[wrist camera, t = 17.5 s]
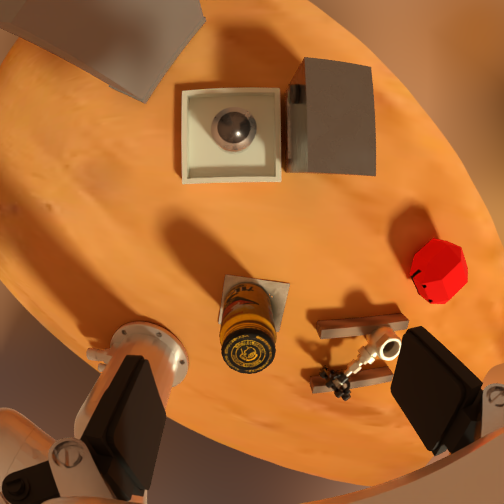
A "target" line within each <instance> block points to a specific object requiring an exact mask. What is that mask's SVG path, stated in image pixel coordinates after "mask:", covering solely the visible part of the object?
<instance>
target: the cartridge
mask: <svg viewBox="0 0 504 504" xmlns="http://www.w3.org/2000/svg"><path fill="white" fill-rule="evenodd" d="M256 132H257V125H256V121H255V119H254V117H253V116H252V114H251V113H249V112H248V111H247V110H245V109H243V108H239V107H229V108H226V109H223V110H222V111H220V112H219V113H218V114H217V115H216V116H215V117H214V119H213V121H212V125H211V133H212V136H213V138H214V140H215V142H216V144H217V146H218V147H219V148H220V149H221V150H222V151H224V152H226V153H229V154H239V153H242V152H244V151H245V150H247V149H248V148H249V146H250V145H251V143H252V141H253V139H254V138H255V135H256Z"/></svg>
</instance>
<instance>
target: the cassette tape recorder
mask: <svg viewBox="0 0 504 504" xmlns="http://www.w3.org/2000/svg"><path fill="white" fill-rule="evenodd" d="M205 22H206V18H205V17H203V13H202V9H201V6H200V2H199V0H0V28H1V29H3V30H6V31H8V32H10V33H12V34H14V35H17V36H19V37H21V38H23V39H25V40H27V41H29V42H31V43H33V44H35V45H37V46H39V47H41V48H43V49H45V50H47V51H49V52H51V53H53V54H55V55H57V56H59V57H61V58H63V59H65V60H66V61H68V62H70V63H72V64H74V65H76V66H77V67H79V68H81V69H83V70H85V71H86V72H88V73H90V74H92V75H93V76H95V77H97V78H99V79H100V80H102V81H104V82H105V83H107V84H109V87H111V88H112V89H115V90H117V91H119V92H121V93H124V94H126V95H128V96H130V97H132V98H134V99H136V100H139V101H141V102H143V103H145V104H146V102H147V101H148V99H149V97H150V96H151V94H152V93H153V91H154V90H155V88H156V87H157V85H158V84H159V82H160V81H161V79H162V78H163V76H164V75H165V73H166V72H167V71H168V69H169V68H170V66H171V65H172V64H173V62H174V61H175V59H176V58H177V57H178V55H179V54H180V53H181V51H182V50H183V49H184V48H185V46H186V45H187V44H188V42H189V41H190V40H191V39H192V37H193V36H194V35H195V34H196V33H197V31H198V30H199V29H200V28H201V27H202V25H203V24H204V23H205Z"/></svg>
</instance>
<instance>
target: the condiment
mask: <svg viewBox="0 0 504 504" xmlns="http://www.w3.org/2000/svg"><path fill="white" fill-rule="evenodd" d="M289 286H290V284H288V283H280V282H272V281H266V280H259V279H253V278H246V277H240V276H233V275H225V280H224V287H223V294H222V301H221V309H220V316H219V323H218V324H221V329H220V335H219V337H220V343H221V345H222V349H221V350H222V352H221V353H222V356H223V359H224V361H225V362H226V364H227V365H228V366H229V367H230V368H231V369H233V370H235V371H238V372H240V373H247V374H252V373H257V372H260V371H262V370H263V369H265V368H266V367H267V366H269V365H270V364H271V363H272V361H273V359H274V357H275V352H276V349H275V343H276V332H279V330H280V325H281V321H282V316H283V312H284V308H285V303H286V299H287V295H288V291H289ZM269 294H270V295H269ZM271 296H273V298H272V297H271Z"/></svg>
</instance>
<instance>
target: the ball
mask: <svg viewBox="0 0 504 504" xmlns="http://www.w3.org/2000/svg"><path fill="white" fill-rule="evenodd" d="M410 277H411V278H412V280H413V282H414V285H415V287H416V289H417V292H418V294H419V295H421V296H422V297H423V298H424V299H425V300H427V301H428V302H429V303H430V304H445V303H446V302H448V301H449V300H450V299H451V298H452V297H453V296H454V295H455V294H456V293H457V292H458V291H459V290H460V289H461V288H462V287H463V286H464V285H465V284H466V283H467V282H468V267H467V264H466V261H465V257H464V254H463V251H462V248H461V247H460V246H457V245H455V244H453V243H450V242H448V241H444V240H439V239H435V238H433V239H432V240H431V241H429V242H428V243H427V244H426V245H425V246H424V247H423V248H422V249H421V250H419V251H418V252H417V253H416V254H415V255H414V258H413V261H412V266H411V270H410Z"/></svg>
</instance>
